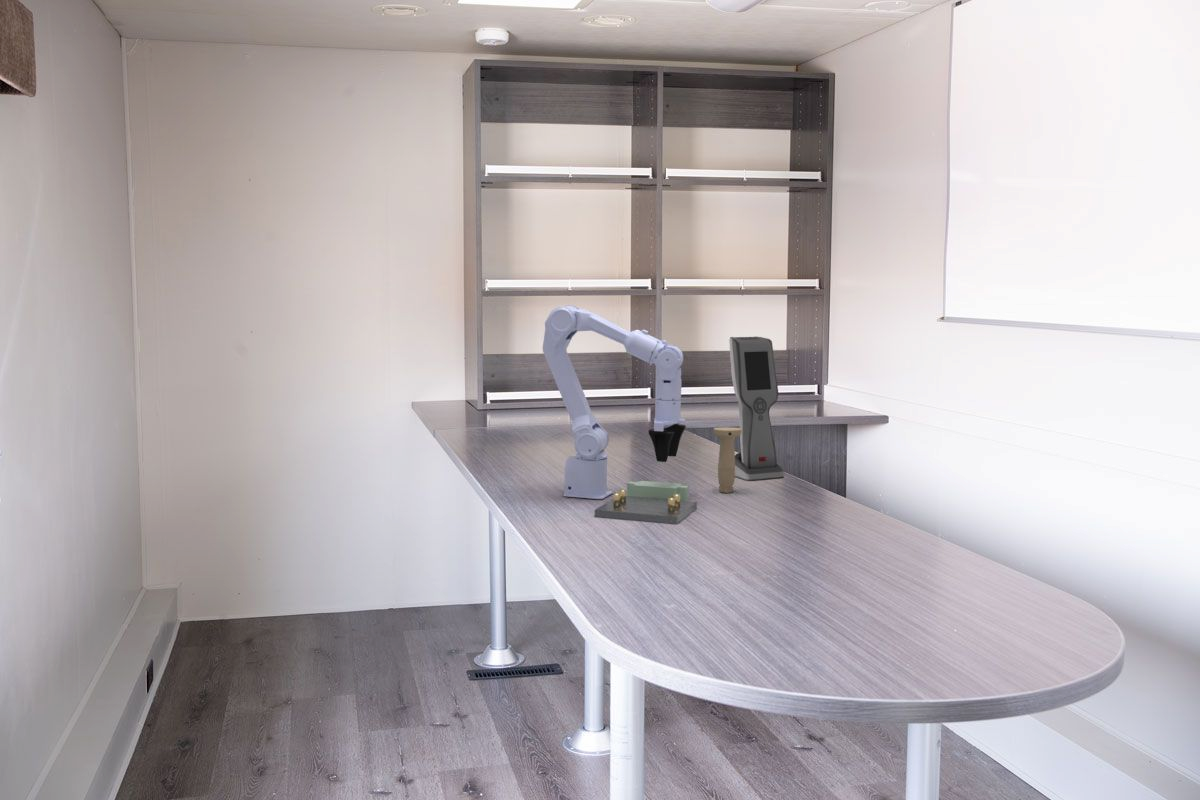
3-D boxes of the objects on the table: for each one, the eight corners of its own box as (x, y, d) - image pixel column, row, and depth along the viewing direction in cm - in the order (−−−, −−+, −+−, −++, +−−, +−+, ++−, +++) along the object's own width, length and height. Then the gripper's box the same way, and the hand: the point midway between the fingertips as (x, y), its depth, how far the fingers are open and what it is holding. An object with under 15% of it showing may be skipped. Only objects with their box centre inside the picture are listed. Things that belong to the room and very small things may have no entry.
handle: (741, 493, 256) (743, 430, 255) (714, 494, 256) (716, 430, 254) (736, 489, 261) (738, 427, 259) (710, 490, 260) (711, 427, 259)
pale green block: (624, 498, 250) (624, 484, 250) (632, 493, 256) (632, 480, 255) (683, 503, 246) (684, 489, 245) (690, 498, 251) (690, 484, 251)
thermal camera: (757, 469, 288) (761, 336, 284) (786, 477, 277) (791, 339, 273) (720, 472, 283) (723, 337, 279) (747, 481, 272) (751, 340, 267)
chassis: (594, 516, 231) (594, 498, 231) (618, 501, 246) (618, 484, 246) (677, 524, 225) (677, 505, 225) (696, 508, 240) (696, 490, 240)
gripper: (676, 403, 238) (674, 465, 240) (693, 396, 252) (692, 455, 254) (645, 401, 241) (644, 462, 242) (664, 395, 254) (662, 452, 256)
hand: (666, 458), depth 248 cm, fingers open, 7 cm apart
